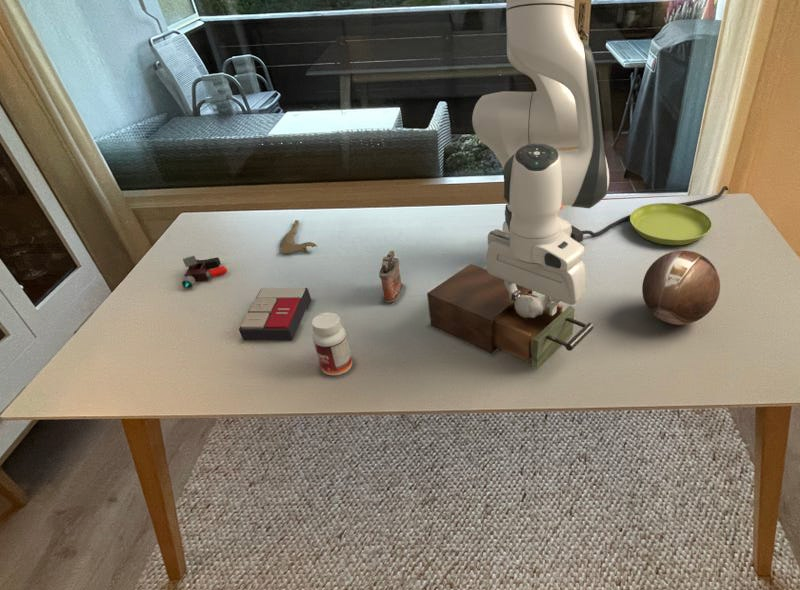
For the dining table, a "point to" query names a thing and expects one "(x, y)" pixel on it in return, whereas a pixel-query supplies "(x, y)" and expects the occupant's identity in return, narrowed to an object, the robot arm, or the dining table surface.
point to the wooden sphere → (681, 287)
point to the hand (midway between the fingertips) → (532, 306)
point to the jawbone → (289, 244)
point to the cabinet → (470, 305)
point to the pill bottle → (331, 344)
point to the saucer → (670, 223)
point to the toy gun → (201, 270)
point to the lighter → (391, 278)
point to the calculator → (275, 314)
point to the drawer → (537, 333)
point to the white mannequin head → (531, 305)
